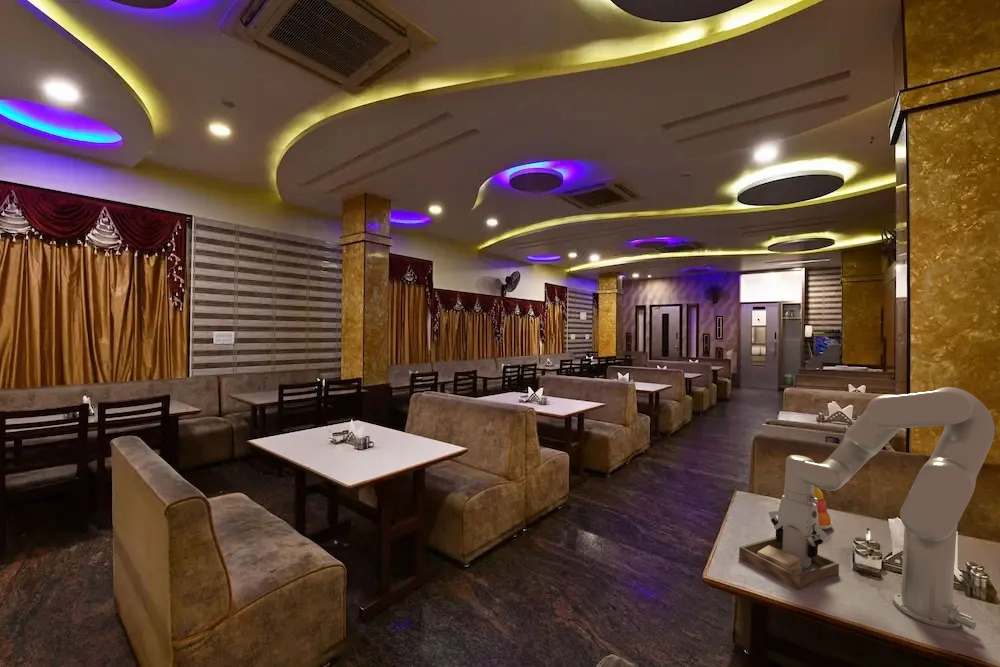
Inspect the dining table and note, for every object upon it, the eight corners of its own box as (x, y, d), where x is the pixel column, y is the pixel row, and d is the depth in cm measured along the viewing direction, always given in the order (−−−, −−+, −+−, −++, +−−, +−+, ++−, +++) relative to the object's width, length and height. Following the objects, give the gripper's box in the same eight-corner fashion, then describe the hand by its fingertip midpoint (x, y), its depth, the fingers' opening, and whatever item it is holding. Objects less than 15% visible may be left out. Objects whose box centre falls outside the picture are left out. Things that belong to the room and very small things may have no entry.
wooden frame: (838, 574, 128) (839, 563, 128) (798, 590, 119) (798, 577, 119) (778, 546, 144) (778, 535, 144) (739, 557, 136) (739, 546, 136)
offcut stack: (804, 574, 127) (805, 560, 127) (786, 581, 123) (786, 566, 123) (771, 557, 136) (771, 544, 136) (752, 563, 133) (753, 549, 133)
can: (798, 571, 129) (799, 532, 129) (776, 558, 136) (777, 521, 136) (816, 568, 131) (818, 530, 131) (794, 555, 138) (795, 519, 138)
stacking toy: (837, 535, 153) (839, 482, 153) (790, 526, 160) (792, 475, 159) (827, 519, 166) (829, 470, 166) (784, 512, 172) (785, 464, 172)
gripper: (836, 505, 127) (833, 561, 128) (778, 484, 143) (775, 534, 143) (821, 508, 124) (818, 566, 124) (764, 487, 140) (761, 538, 140)
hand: (795, 548), depth 134 cm, fingers open, 9 cm apart
